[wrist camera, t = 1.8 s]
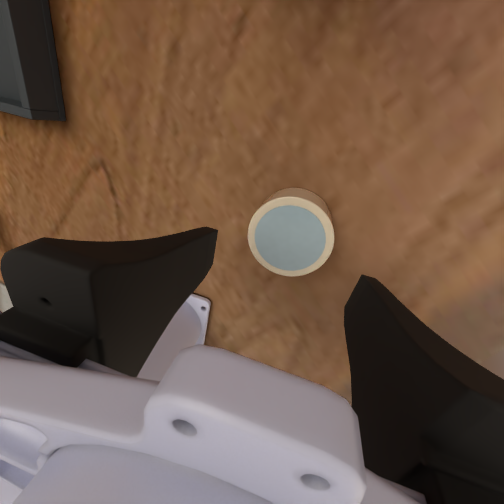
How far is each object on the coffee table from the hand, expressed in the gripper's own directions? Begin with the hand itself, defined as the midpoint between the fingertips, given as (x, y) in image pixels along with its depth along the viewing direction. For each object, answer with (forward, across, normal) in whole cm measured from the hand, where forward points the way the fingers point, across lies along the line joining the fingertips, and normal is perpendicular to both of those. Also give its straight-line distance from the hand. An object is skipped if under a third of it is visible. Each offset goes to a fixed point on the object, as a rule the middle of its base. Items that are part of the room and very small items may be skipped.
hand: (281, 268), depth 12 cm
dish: (+6, 0, 0) cm, 6 cm away
